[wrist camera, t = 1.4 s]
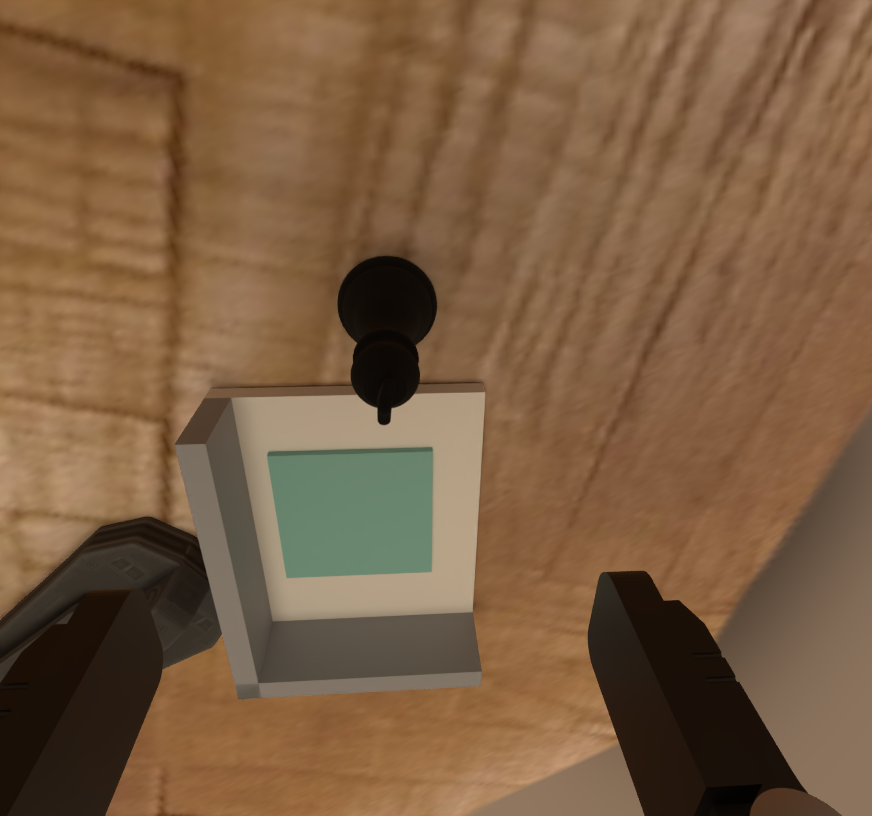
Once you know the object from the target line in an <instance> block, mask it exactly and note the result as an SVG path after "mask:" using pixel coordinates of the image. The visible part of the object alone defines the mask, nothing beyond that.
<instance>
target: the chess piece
mask: <svg viewBox="0 0 872 816" xmlns="http://www.w3.org/2000/svg"><path fill="white" fill-rule="evenodd" d="M436 311H437V301H436V295H435V291H434V288H433V286H432V284H431V282H430V280H429V279H428V277H427V276H426V275H425V273H424V272H423V271H422V270H420V269H419V268H418V267H417V266H416V265H414V264H412V263H410V262H409V261H407V260H404V259H401V258H398V257H390V256H384V257H376V258H372V259H368V260H366V261H364V262H362V263H360V264H359V265H357V266H356V267H355V268H354V269H352V270H351V272H350V273H349V274H348V275H347V276H346V278H345V279H344V281H343V283H342V285H341V288H340V291H339V295H338V313H339V317H340V320H341V322H342V325H343V327H344V328H345V330H346V331H347V333H348V334H349V335H350V337H351V338H352V339H353V340H354V341H356V342H357V345H356V347H355V349H354V354H353V365H352V368H351V382H352V386H353V388H354V391H355V392H356V394H357V395H358V397H359V398H360V399H362V400H363V401H364V402H365V403H367V404H368V405H370V406H373V407H375V408H377V420H378V423H379V424H381V425H388V424H389V423H390V421H391V411H392V408H396V407H398V406H401V405H403V404H405V403H406V402H407V401H408V400H410V398H411V397H412V396H413V395H414V394H415V392H416V390H417V388H418V385H419V381H420V371H419V366H418V362H419V357H418V351H417V348H416V346H415V345H416V344H418V343H419V342H420V341H421V340H423V338H424V337H425V336H426V335H427V334H428V332H429V331H430V329H431V327H432V325H433V323H434V320H435V316H436Z"/></svg>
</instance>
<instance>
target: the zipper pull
mask: <svg viewBox="0 0 872 816" xmlns="http://www.w3.org/2000/svg"><path fill="white" fill-rule="evenodd" d="M132 588H139V589H141V590H143V592H144V593H145V596H146V598H147V601H148V604H149V607H150V610H151V614H152V617H153V620H154V623H155V626H156V629H157V632H158V635H159V638H160V641H161V644H162V648H163V668H162V669H164V668H166V667H169V666H171V665H173V664H175V663H177V662H180V661H182V660H184V659H186V658H189V657H191V656H193V655H195V654H198V653H200V652H202V651H204V650H207V649H209V648H211V647H213V646H214V645H215V643H216V642H217V640H218V639H219V637H220V636H221V634H222V632H221V628H220V624H219V620H218V616H217V612H216V608H215V604H214V600H213V596H212V592H211V588H210V584H209V580H208V576H207V572H206V568H205V564H204V560H203V556H202V552H201V548H200V544H199V540H198V539H197V538H195V537H194V536H192V535H190V534H188V533H185V532H183V531H181V530H179V529H176V528H174V527H172V526H170V525H167V524H165V523H163V522H161V521H158V520H156V519H154V518H151V517H144V518H139V519H134V520H130V521H125V522H121V523H116V524H111V525H107V526H102V527H100V528H99V529H98V530H97V531H96V532H95V533H94V534H93V535H92V536H91V537H90V538H88V539H87V540H86V541H85V542H84V543H83V544H82V545H81V546H80V547H79V548H78V549H77V550H76V551H75V552H74V553H73V554H72V555H71V556H70V557H69V558H68V559H67V560H66V561H64V562H63V563H62V564H61V565H60V566H59V567H58V568H57V569H56V570H55V571H54V572H52V573H51V574H50V575H49V576H48V577H47V578H46V579H45V580H44V581H43V582H42V583H40V584H39V585H38V586H37V587H36V588H35V589H34V590H33V591H32V592H31V593H29V594H28V595H27V596H26V597H25V598H24V599H23V600H22V601H21V602H20V603H19V604H17V605H16V606H15V607H14V608H13V609H12V610H11V611H10V612H9V613H8V614H7V615H6V616H5V617H4V618H3V619H1V620H0V683H1V681H2V680H3V678H4V677H5V675H6V674H7V672H8V671H9V669H10V668H11V667H12V665H13V664H14V662H15V661H16V659H17V658H18V656H19V655H20V653H21V652H22V651H23V650H24V649H25V648H27V647H28V646H29V645H30V644H31V643H32V642H34V641H35V640H36V639H37V638H38V637H39V636H40V635H42V634H43V633H44V632H45V631H46V630H47V629H48V628H50V627H51V626H52V625H53V624H67V622H68V621H69V619H70V618H71V616H72V614H73V613H74V611H75V610H76V608H77V607H78V605H79V603H80V602H81V600H82V599H83V598H84V596H85V595H86V594H87V593H88V592H90V591H92V590H106V589H132Z"/></svg>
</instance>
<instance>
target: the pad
mask: <svg viewBox="0 0 872 816" xmlns="http://www.w3.org/2000/svg"><path fill="white" fill-rule="evenodd" d="M267 460H268V467H269V473H270V479H271V485H272V491H273V498H274V504H275V510H276V516H277V522H278V529H279V535H280V541H281V547H282V554H283V560H284V566H285V572H286V578H302V577H326V576H350V575H374V574H398V573H422V572H432V483H433V449H432V447H423V448H386V449H350V450H313V451H277V452H268V454H267Z"/></svg>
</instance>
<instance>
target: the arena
mask: <svg viewBox="0 0 872 816" xmlns="http://www.w3.org/2000/svg"><path fill="white" fill-rule="evenodd" d="M484 407H485V390H484V386H483V383H459V384H419V385H418V388H417V390H416V392H415V394H414V395H413V396H412V397H411V398H410V400H408V401H407V402H406V403H405V404H403V405H401V406H398V407H396V408H392V411H391V421H390V423H389V424H388V425H381V424H379V423H378V420H377V408H375V407H373V406H370V405H368V404H367V403H365V402H364V401H363V400H362V399H360V398H359V397H358V395H357V394H356V392H355V391H354V388H353V386H312V387H262V388H213V389H210V390H209V392H208V393H207V395H206V397H205V398H204V400H203V401H202V403H201V404H200V406H199V407H198V409H197V411H196V412H195V414H194V415H193V417H192V418H191V420H190V421H189V423H188V425H187V426H186V428H185V429H184V431H183V432H182V434H181V435H180V437H179V438H178V440H177V442H176V443H175V449H176V453H177V457H178V461H179V465H180V469H181V473H182V477H183V481H184V485H185V489H186V493H187V497H188V501H189V505H190V509H191V513H192V517H193V521H194V525H195V529H196V532H197V536H198V540H199V544H200V548H201V552H202V556H203V560H204V564H205V568H206V572H207V576H208V580H209V584H210V588H211V592H212V596H213V600H214V604H215V608H216V612H217V616H218V620H219V624H220V628H221V632H222V636H223V639H224V643H225V647H226V651H227V655H228V659H229V663H230V667H231V671H232V675H233V679H234V683H235V687H236V691H237V695H238V699H251V698H269V697H287V696H305V695H324V694H342V693H360V692H378V691H397V690H415V689H433V688H451V687H470V686H481V675H482V670H481V664H480V657H479V651H478V644H477V638H476V631H475V625H474V618H473V596H474V578H475V561H476V544H477V527H478V510H479V493H480V476H481V459H482V441H483V424H484ZM423 447H432V449H433V483H432V572H422V573H398V574H374V575H350V576H326V577H302V578H286V572H285V566H284V560H283V554H282V547H281V541H280V535H279V529H278V522H277V516H276V510H275V504H274V498H273V491H272V485H271V479H270V473H269V467H268V460H267V454H268V452H277V451H313V450H350V449H386V448H423Z"/></svg>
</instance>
